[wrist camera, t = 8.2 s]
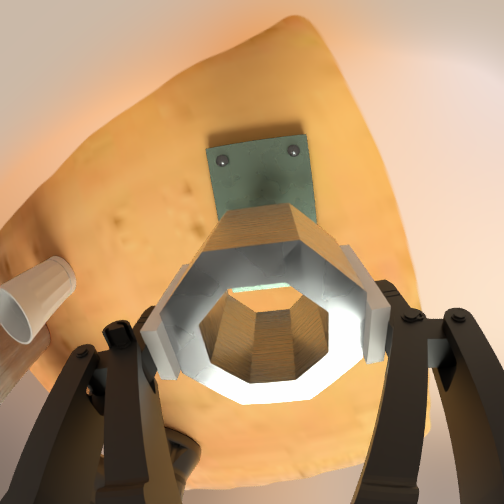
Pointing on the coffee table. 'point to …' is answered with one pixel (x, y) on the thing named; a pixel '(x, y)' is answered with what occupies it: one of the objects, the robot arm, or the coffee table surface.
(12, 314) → the cup
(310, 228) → the ring
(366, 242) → the coffee table surface
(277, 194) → the shaft stand
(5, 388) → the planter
